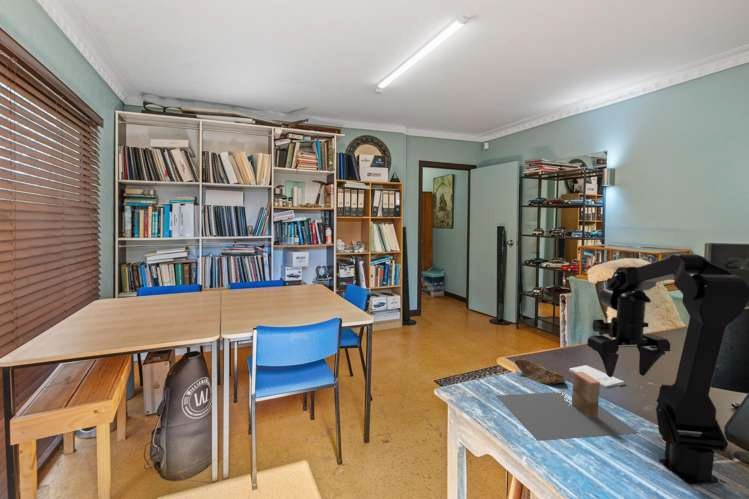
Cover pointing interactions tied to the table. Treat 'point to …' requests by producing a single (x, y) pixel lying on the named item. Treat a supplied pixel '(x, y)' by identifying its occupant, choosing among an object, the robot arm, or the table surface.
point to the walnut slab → (585, 394)
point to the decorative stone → (538, 372)
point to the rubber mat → (560, 417)
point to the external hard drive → (598, 376)
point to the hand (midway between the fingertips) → (625, 375)
